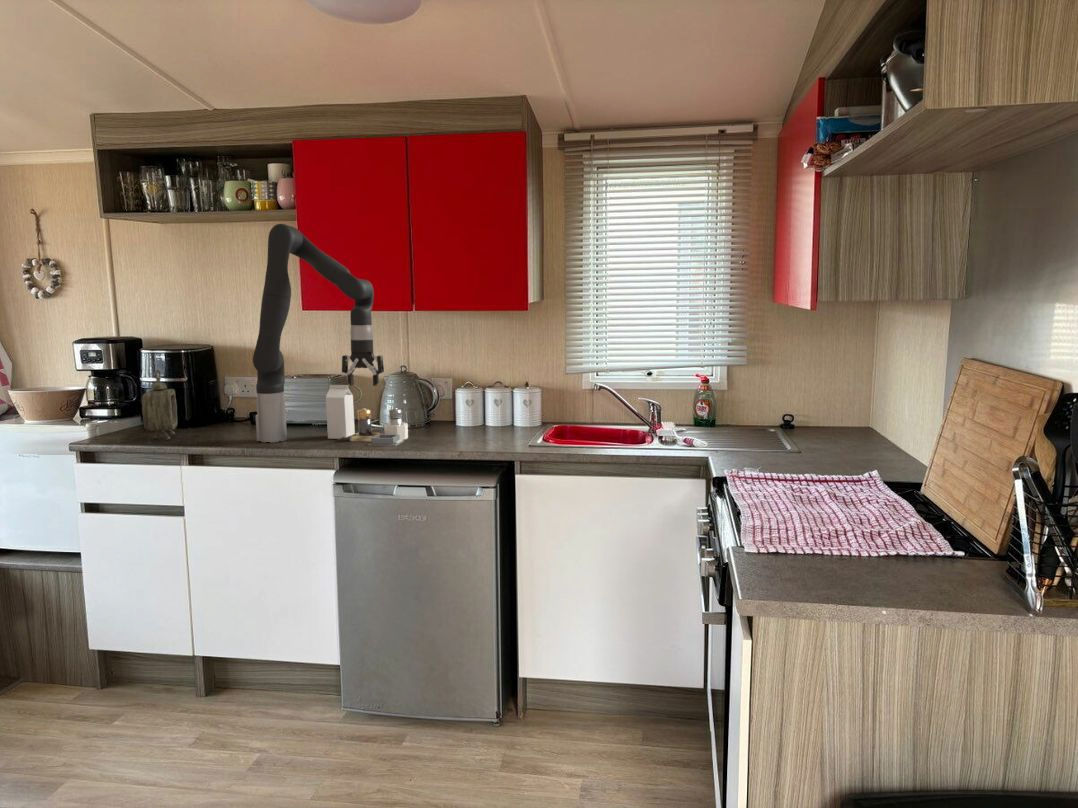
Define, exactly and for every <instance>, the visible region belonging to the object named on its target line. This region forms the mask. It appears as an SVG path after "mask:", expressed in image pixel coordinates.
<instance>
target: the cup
mask: <svg viewBox="0 0 1078 808" xmlns="http://www.w3.org/2000/svg"><path fill="white" fill-rule="evenodd" d="M383 426H384V434H399V435H400V440H404V441H405V440H407V439H408V438H409V430H408V428H409V426H408V423H407V422H403V421H402V425H397V426H390V423H389V422H388V423H384V425H383Z"/></svg>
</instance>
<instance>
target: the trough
mask: <svg viewBox="0 0 1078 808" xmlns="http://www.w3.org/2000/svg"><path fill="white" fill-rule="evenodd" d="M378 434H383V433H382V432H372V436H359V432H356V433H355V434H353V435H351V436H349V441H350V442H371V438H372V437H374V436H376V435H378Z"/></svg>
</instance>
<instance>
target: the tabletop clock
mask: <svg viewBox="0 0 1078 808" xmlns="http://www.w3.org/2000/svg"><path fill="white" fill-rule="evenodd" d="M155 379H156V382H155V383H153V384H152V385H151V387H150V389H149V390H148V391H146V392H145V393H143V394H142V396H141V408H142V421H143V427H144V429H145V430H148V431H150V432H155V434H154V435H153V438H154V437H158V438H159V435H158V433H159V431H161V432H163V435H164V436H165V439H164V440H166V439H170V440H171V437H170V436H168V433H167V431H169V434H170V435H171V434H175V435H176V432H175V431H174V430H176V428H177V427H178V405H177V397H176V396H177V395H176V390H175V388H168V387H167V385H166V384H165V383H163V382H161V371H160V370H159V369H157V370H156V371H155Z"/></svg>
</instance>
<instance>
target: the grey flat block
mask: <svg viewBox="0 0 1078 808" xmlns="http://www.w3.org/2000/svg"><path fill="white" fill-rule="evenodd" d="M402 443H405V439H404V440H400V435H399V434H385V433H382V434H378V435H376V436H374V437H372V438H371V441H370V442H369V443H367V444H366V446H370V447H397V446H398V445H401V444H402Z"/></svg>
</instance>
